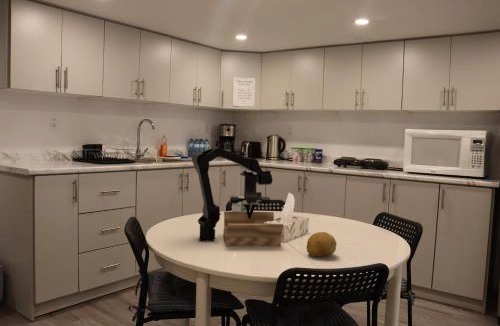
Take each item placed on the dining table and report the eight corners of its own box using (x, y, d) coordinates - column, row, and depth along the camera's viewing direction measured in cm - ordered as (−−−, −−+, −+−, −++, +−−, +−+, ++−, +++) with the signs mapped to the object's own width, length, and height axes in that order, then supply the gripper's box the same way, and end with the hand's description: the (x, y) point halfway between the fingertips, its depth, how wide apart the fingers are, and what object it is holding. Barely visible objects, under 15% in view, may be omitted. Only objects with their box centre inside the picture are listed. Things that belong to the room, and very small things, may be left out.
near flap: (280, 236, 188) (280, 237, 188) (226, 236, 185) (226, 237, 185) (283, 223, 184) (283, 224, 183) (228, 223, 180) (228, 224, 180)
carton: (225, 246, 186) (226, 237, 185) (223, 237, 200) (223, 228, 200) (280, 246, 189) (281, 237, 188) (274, 237, 203) (274, 228, 203)
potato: (303, 252, 181) (304, 229, 180) (332, 252, 182) (333, 229, 181) (309, 260, 170) (310, 235, 170) (340, 260, 172) (341, 235, 171)
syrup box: (240, 226, 223) (241, 198, 221) (231, 224, 226) (232, 196, 225) (246, 224, 227) (247, 197, 226) (238, 222, 231) (239, 195, 230)
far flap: (224, 228, 200) (224, 228, 200) (274, 228, 203) (274, 228, 203) (224, 211, 203) (224, 211, 203) (273, 212, 206) (273, 212, 206)
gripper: (231, 186, 193) (230, 221, 194) (273, 187, 195) (271, 221, 196) (230, 184, 204) (229, 217, 205) (269, 184, 206) (268, 217, 207)
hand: (249, 218), depth 203 cm, fingers closed, pressing on far flap
